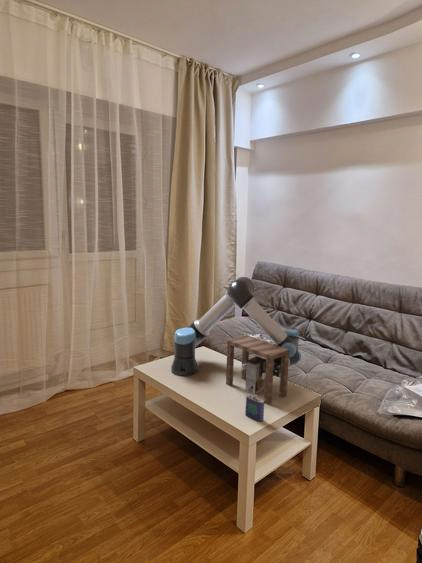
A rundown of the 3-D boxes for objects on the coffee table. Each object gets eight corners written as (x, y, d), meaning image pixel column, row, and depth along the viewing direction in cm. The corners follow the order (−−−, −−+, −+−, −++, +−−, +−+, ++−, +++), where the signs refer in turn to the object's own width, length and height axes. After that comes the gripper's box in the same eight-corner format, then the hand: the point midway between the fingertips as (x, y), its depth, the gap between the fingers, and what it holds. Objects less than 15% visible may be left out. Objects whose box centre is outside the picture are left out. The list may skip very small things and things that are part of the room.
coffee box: (255, 385, 198) (256, 355, 195) (265, 389, 194) (266, 359, 191) (244, 390, 191) (245, 360, 189) (255, 394, 187) (256, 363, 184)
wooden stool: (225, 384, 199) (227, 340, 195) (244, 377, 208) (245, 335, 204) (268, 405, 177) (271, 356, 173) (286, 396, 186) (289, 349, 182)
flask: (264, 420, 163) (265, 397, 162) (260, 423, 161) (261, 399, 160) (247, 413, 170) (248, 390, 168) (243, 415, 167) (244, 392, 166)
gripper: (298, 376, 194) (271, 387, 180) (261, 361, 212) (234, 371, 199) (299, 362, 193) (272, 372, 179) (261, 349, 211) (235, 357, 197)
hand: (252, 371), depth 189 cm, fingers open, 13 cm apart
